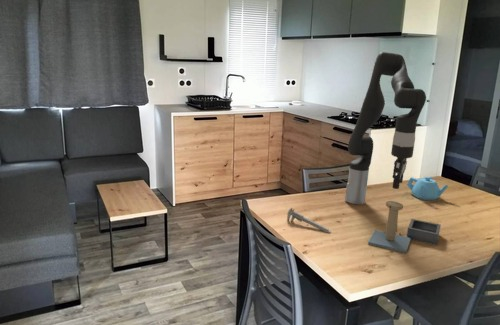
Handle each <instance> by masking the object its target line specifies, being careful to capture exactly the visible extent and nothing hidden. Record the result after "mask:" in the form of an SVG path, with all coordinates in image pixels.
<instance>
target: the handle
mask: <svg viewBox="0 0 500 325" xmlns="http://www.w3.org/2000/svg"><path fill="white" fill-rule="evenodd" d="M385 206H386V207H387V209H388V216H387V220H386V228H385V232H386V239H387V240H389V241H393V240H394V239H395V235H397V230H398V220H399V218H398V217H399V216H398V215H399V211H401V210H403V209H404V204H402V203H400V202H398V201H393V200H388V201H386V202H385Z"/></svg>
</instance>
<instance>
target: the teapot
mask: <svg viewBox="0 0 500 325" xmlns="http://www.w3.org/2000/svg"><path fill="white" fill-rule="evenodd" d="M413 182H415V183H414V184H413ZM406 186H407V188H408V189H410V191H411V193H412V195H413V197H415V198H417V199H420V200H425V201H435V200H438V199H439V198H440V197H441V196H442V194H443V193H444V192H445V191H446V190H447V188H448V187H449V185H448V184H445V185H444V186H442V187H441V188H440V187H439V184H438V182H437V181H436V180H435V179H433V177H432V176H424V177H422V178H421V177H420V178H419V179H418V178H416V177H413V176H411V177H410V178H409V180H408V182H407V184H406Z"/></svg>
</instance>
